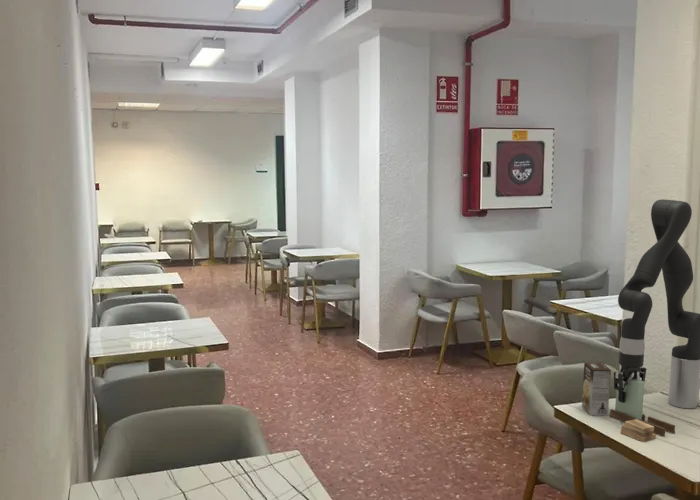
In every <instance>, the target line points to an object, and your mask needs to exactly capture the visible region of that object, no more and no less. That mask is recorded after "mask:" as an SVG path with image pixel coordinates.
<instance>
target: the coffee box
mask: <svg viewBox="0 0 700 500" xmlns="http://www.w3.org/2000/svg"><path fill="white" fill-rule="evenodd" d="M611 374H612V370H611V369H610V368H609V367H608V366H607V365H606V364H605V363H604V362H603V361H585V362H584V364H583V379H582V380H583V381H582V397H581V398H582V399H581V407H582V408H583V409H584V410H585V411H586V413H587V414H588V415H589V416H595V417H596V416H597V417H599V416H605V417H607V416H609V403H610V401H609V400H610V388H611Z"/></svg>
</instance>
